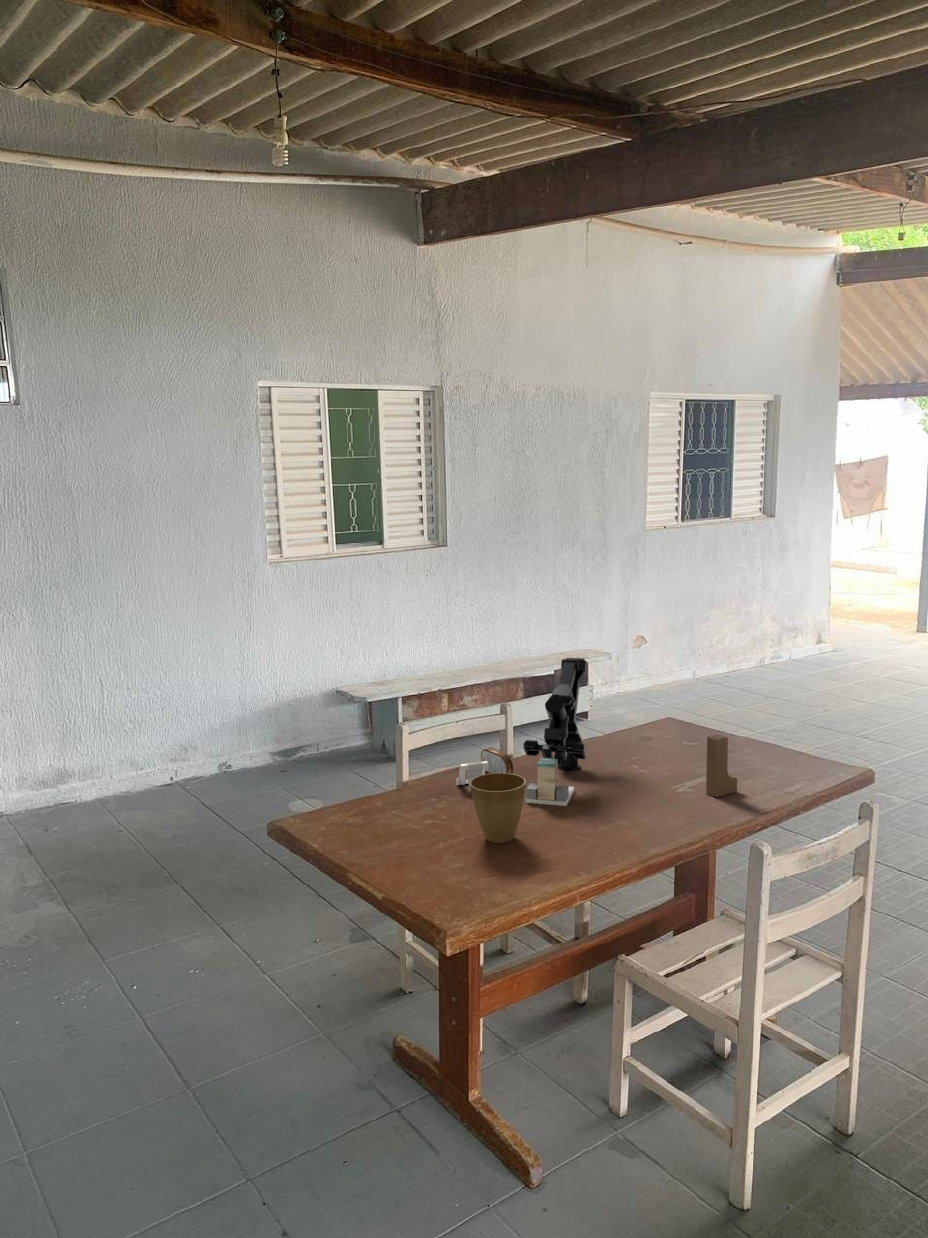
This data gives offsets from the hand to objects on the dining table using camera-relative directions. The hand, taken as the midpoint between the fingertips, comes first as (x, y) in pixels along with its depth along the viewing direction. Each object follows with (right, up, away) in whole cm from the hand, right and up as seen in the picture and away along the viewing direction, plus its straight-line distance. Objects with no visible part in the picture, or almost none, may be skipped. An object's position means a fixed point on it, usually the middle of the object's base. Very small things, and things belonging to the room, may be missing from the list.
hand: (551, 774), depth 279 cm
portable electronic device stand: (-24, -6, +10) cm, 26 cm away
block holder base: (0, -7, 0) cm, 7 cm away
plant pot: (-17, -12, -31) cm, 37 cm away
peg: (-1, -6, -4) cm, 7 cm away
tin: (-16, -4, +21) cm, 27 cm away
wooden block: (+51, -6, -1) cm, 52 cm away
